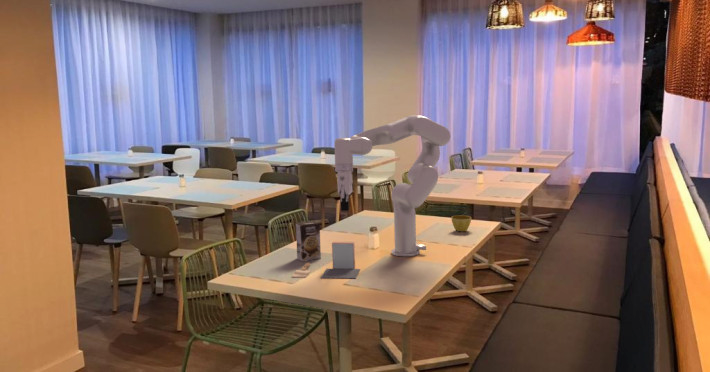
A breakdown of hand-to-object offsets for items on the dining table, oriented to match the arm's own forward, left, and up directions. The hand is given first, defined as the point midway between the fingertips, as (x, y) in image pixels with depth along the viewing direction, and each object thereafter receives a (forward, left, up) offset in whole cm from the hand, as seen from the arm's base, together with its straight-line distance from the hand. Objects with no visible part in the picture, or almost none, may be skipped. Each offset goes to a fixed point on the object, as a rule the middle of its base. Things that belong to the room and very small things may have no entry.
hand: (344, 210), depth 254 cm
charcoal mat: (0, +17, -23) cm, 28 cm away
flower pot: (-50, -59, -23) cm, 81 cm away
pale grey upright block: (0, +9, -23) cm, 24 cm away
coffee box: (+18, -5, -23) cm, 29 cm away
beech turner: (+16, +15, -23) cm, 31 cm away
